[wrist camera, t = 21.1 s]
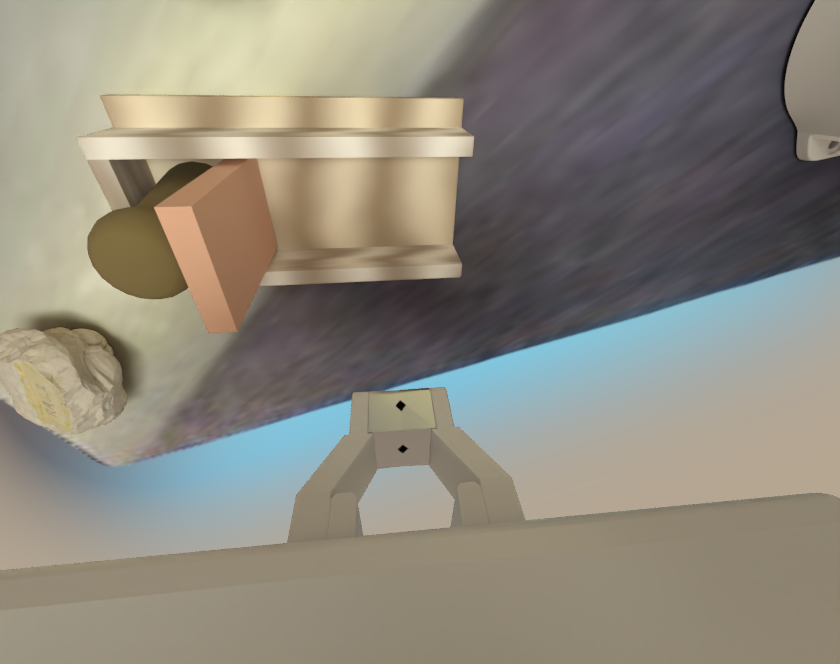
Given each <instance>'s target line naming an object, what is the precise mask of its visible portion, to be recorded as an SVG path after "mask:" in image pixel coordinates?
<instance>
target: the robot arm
mask: <svg viewBox="0 0 840 664" xmlns="http://www.w3.org/2000/svg"><path fill="white" fill-rule="evenodd" d="M785 101H786V106H787V110H788V112H789V114H790V116H791V118H792V120H793V121H794V123H795V125H796V127H797V131H798V133H797V145H796V152H797V157H798V158H799V159H800V160H807V161H818V160H822V159H827V158H831V157H836V156H840V0H815V2H814V3H813V5H812V7H811V9H810V10H809V12H808V14H807V16H806V18H805V20H804V22H803V24H802V26H801V28H800V31H799V33H798V35H797V38H796V40H795V43H794V46H793V48H792V52H791V55H790V58H789V62H788V66H787V71H786V77H785ZM413 465H430V467H431V469H432V470H433V471H434V472H435V474H436V475H437V476H438V478H439V479H440V480H441V482H442V483H443V484H444V486H445V487H446V488H447V490H448V491H449V492H450V494H451V495H452V496H453V498H454V499H455V502H454V508H453V515H452V521H451V527H450V528H440V529H430V530H419V531H408V532H399V533H388V534H377V535H367V536H363V532H362V525H361V520H360V514H359V508H358V502H359V501H360V499H361V497H362V496H363V493H364V492H365V490H366V489H367V487H368V485H369V483H370V481H371V480H372V478H373V476H374V474H375V473H376V471H377V469H379V468H389V467H399V466H413ZM0 664H840V498H838V497H835V496H833V495H829V494H823V493H806V494H796V495H786V496H775V497H766V498H754V499H744V500H734V501H724V502H713V503H703V504H692V505H682V506H671V507H660V508H650V509H639V510H629V511H618V512H608V513H598V514H587V515H577V516H566V517H557V518H546V519H535V520H525V517H524V514H523V511H522V508H521V505H520V501H519V498H518V495H517V492H516V489H515V486H514V483H513V480H512V477H511V476H510V475H509V474H507V473H506V472H505V471H504V470H503V469H502V468H501V467H500V466H499V465H498V464H497V463H496V462H495V461H494V460H493V459H492V458H491V457H490V456H489V455H488V454H487V453H485V452H484V451H483V450H482V449H481V448H480V447H479V446H478V445H477V444H476V443H475V442H474V441H473V440H472V439H471V438H470V437H469V436H468V435H467V434H466V433H464V431H463V430H461V429H460V428H459V427H454V423H453V419H452V414H451V409H450V405H449V400H448V395H447V391H446V389H445V387H438V388H430V389H429V388H422V389H409V390H399V391H370V392H353V395H352V404H351V418H350V432H349V435H344V437H343V438H342V439H341V440H340V441H339V443H338V444H337V445H336V447H335V448H334V449H333V450H332V451H331V453H330V454H329V455H328V456H327V458H326V459H325V460H324V461H323V463H322V464H321V465H320V466H319V468H318V469H317V470H316V471H315V472H314V474H313V475H312V476H311V477H310V479H309V480H308V481H307V482H306V484H305V485H304V486H303V487H302V489H301V490H300V491H299V492H298V494H297V495H296V499H295V504H294V509H293V515H292V520H291V525H290V531H289V536H288V542H287V543H283V544H273V545H262V546H252V547H241V548H231V549H221V550H210V551H199V552H189V553H180V554H168V555H157V556H148V557H136V558H126V559H115V560H105V561H95V562H84V563H74V564H63V565H52V566H42V567H31V568H21V569H11V570H10V569H9V570H0Z"/></svg>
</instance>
